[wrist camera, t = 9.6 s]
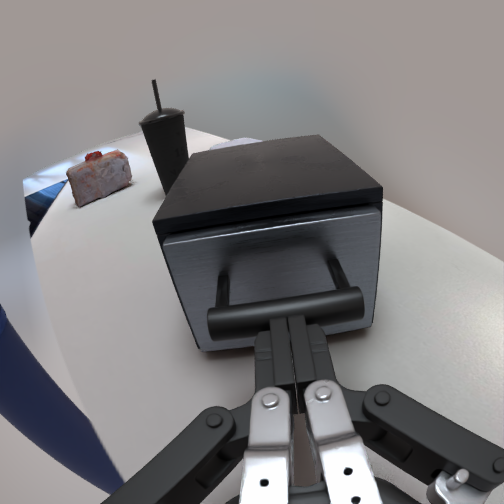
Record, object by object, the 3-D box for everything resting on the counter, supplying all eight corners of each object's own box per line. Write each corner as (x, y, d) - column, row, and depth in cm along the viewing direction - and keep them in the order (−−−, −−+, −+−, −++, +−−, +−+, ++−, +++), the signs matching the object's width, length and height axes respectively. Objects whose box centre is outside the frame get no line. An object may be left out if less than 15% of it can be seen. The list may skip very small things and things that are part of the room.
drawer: (391, 376, 16) (419, 256, 12) (196, 405, 17) (140, 297, 12) (325, 227, 32) (319, 149, 28) (214, 244, 33) (196, 167, 28)
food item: (126, 180, 69) (116, 140, 63) (137, 184, 63) (125, 141, 58) (74, 202, 62) (61, 162, 57) (79, 210, 56) (64, 165, 51)
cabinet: (373, 323, 21) (383, 186, 16) (198, 349, 22) (151, 221, 17) (325, 225, 35) (318, 134, 29) (212, 241, 35) (192, 153, 30)
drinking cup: (149, 201, 51) (120, 89, 41) (175, 184, 57) (151, 82, 47) (184, 201, 48) (155, 77, 38) (208, 183, 54) (186, 72, 44)
